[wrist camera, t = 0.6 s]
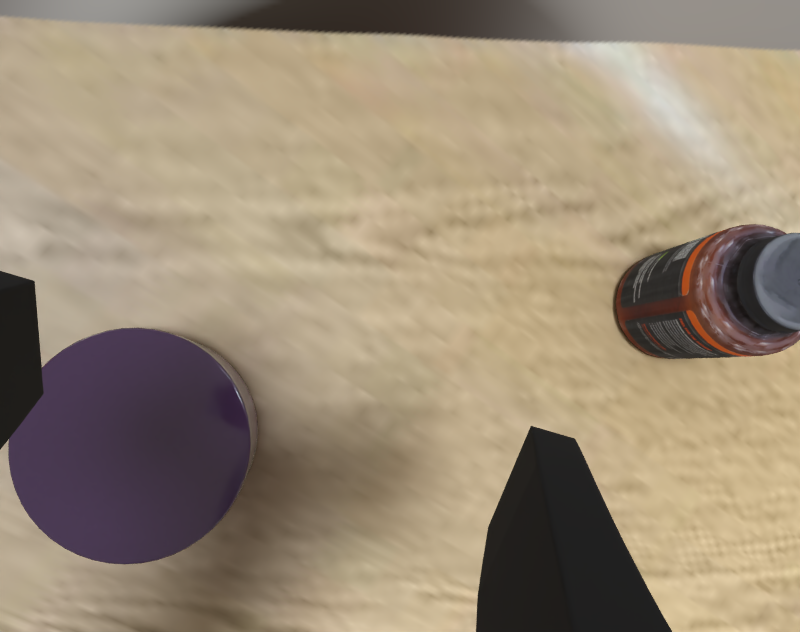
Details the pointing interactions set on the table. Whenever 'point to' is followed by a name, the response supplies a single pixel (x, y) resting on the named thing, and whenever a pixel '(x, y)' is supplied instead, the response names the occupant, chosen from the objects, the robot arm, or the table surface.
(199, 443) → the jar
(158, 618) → the table surface
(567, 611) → the robot arm
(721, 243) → the supplement bottle
